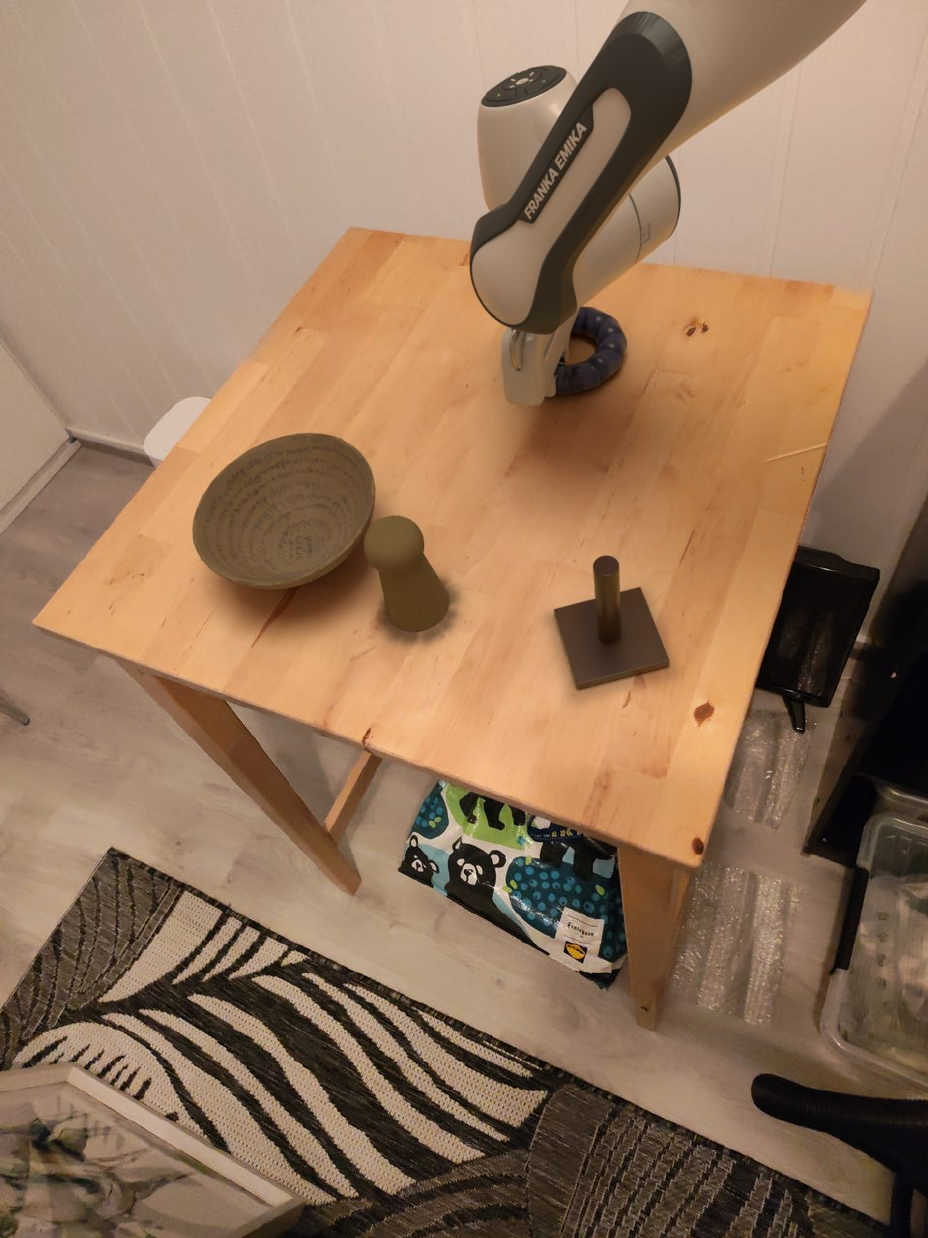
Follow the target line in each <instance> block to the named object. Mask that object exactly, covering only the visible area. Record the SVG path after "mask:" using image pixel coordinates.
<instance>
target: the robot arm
mask: <svg viewBox="0 0 928 1238" xmlns="http://www.w3.org/2000/svg"><path fill="white" fill-rule="evenodd" d="M867 1H868V0H628V2H627V3H626V5H625V7H624V8H623V10H622V12H621V13H620V15H619V17H618V19H617V20H616V22H615V24H614V25H613V27H612V29H611V31H610V33H609V35H608V36H607V38H606V39H605V40H604V42H603V43H602V46H601V47H600V49H599V50H598V52H597V54H596V55H595V57H594V59H593V60H592V62H591V64H590V65H589V67H588V68H587V70H586V71H585V73H584V74H583V76H582V77H581V79H580V81H579V82H578V83H577V81H576V79H575V77H574V76H573V75H572V73H571V72H570V71H569V70H568V69H566V68H564V67H561V66H557V65H553V64H552V65H551V64H545V65H538V66H532V67H529V68H527V69H525V70H521V71H519V72H515V73H513V74H511V75H510V76H507V77H506V78H504V79H503V80H502V81H500V82H498V83H497V84H496V85H494V86H492V87H491V88H490V89H489V90H488V91H487V92H486V93H485V94H484V96H483V97H482V98H481V100H480V103H479V106H478V110H477V118H476V142H477V157H478V166H479V173H480V181H481V187H482V194H483V199H484V203H485V204H486V207H487V209H488V212H487V213H485V214H483V215H481V217H479V218H478V220H477V221H476V222H475V224H474V228H473V231H472V236H471V240H470V241H471V242H470V248H469V276H470V282H471V286H472V289H473V291H474V293H475V296H476V297H477V299H478V301H479V303H480V305H481V306H482V307H483V309H484V311H486V313H487V314H488V315H489V316H490V317H491V318H492V319H494V320H495V321H496V322H497V323H499V324H501V325H502V326H504V327H505V328H504V331H503V333H502V338H501V343H500V365H501V375H502V376H501V377H502V386H503V392H504V397H505V399H506V401H507V402H508V403H510V404H512V405H515V406H516V405H517V406H524V407H540V406H541V405H542V404H543V403H544V400H545V397H550V398H553V397H555V395H556V394H555V393H556V391H557V388H558V376H557V375H554V372H555V370H556V367H557V365H558V366H567V365H568V362H569V360H570V353H569V347H570V340H571V339H570V338H571V334H570V332H571V330H572V327H573V325H574V322H575V320H576V317H577V315H578V312H579V310H580V307H581V306H584V305H586V304H587V303H588V302H589V301H591V300H592V299H593V298H595V297H596V296H597V295H598V294H600V293H601V292H602V291H604V290H605V289H607V288H608V287H609V286H611V285H612V284H613V283H614V282H615V281H617V280H618V279H620V278H621V277H622V276H623V275H625V274H626V273H627V272H629V271H630V270H631V269H632V268H634V267H635V266H636V265H637V264H639V263H640V262H642V261H644V260H645V258H647V257H648V256H649V255H650V254H652V253H653V252H655V250H657V249H658V248H659V247H660V246H661V245H662V244H663V243H664V242H666V241H667V240H668V239H670V237H671V236H672V235H673V234H674V232H675V230H676V228H677V226H678V223H679V219H680V215H681V208H682V193H681V192H682V191H681V184H680V180H679V176H678V171H677V169H676V166H675V164H674V161H673V160H672V158H671V156H670V154H671V153H672V152H674V151H675V150H677V149H678V148H679V147H681V145H683V144H685V143H686V142H687V141H689V140H690V139H692V137H694V136H696V135H698V134H699V133H700V132H702V131H703V130H704V129H706V128H707V127H709V126H710V125H711V124H713V123H715V122H716V121H719V119H720V118H722V117H723V116H725V115H727V114H728V113H730V112H731V111H733V110H734V109H736V108H737V107H739V106H741V105H742V104H744V103H745V102H746V101H748V100H749V99H751V98H753V97H754V96H756V95H757V94H758V93H760V92H761V91H763V90H765V89H766V88H767V87H769V86H771V85H772V84H773V83H775V82H776V81H778V80H779V79H781V78H782V77H783V76H784V75H786V74H787V73H789V72H790V71H791V70H793V69H794V68H795V67H797V66H798V65H800V63H801V62H803V61H804V60H806V59H807V58H808V57H809V56H810V55H811V54H812V53H814V52H815V51H816V50H817V49H819V47H821V46H822V45H823V44H824V43H825V42H827V41H828V39H830V38H831V37H832V36H833V35H834V34H835V33H836V32H837V31H839V29H841V28H842V27H843V26H844V24H846V23H847V22H848V21H849V20H850V19H851V18H852V17H853V16H854V15H855V14H856V13H857V12H858V11H859V10H860V9H861V8H862V7H863V6H864V4H865V3H866V2H867Z"/></svg>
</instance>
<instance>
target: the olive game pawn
mask: <svg viewBox="0 0 928 1238" xmlns="http://www.w3.org/2000/svg"><path fill="white" fill-rule="evenodd" d="M363 538H364V539H363V552H364V556H365V557H366V559H367V562H368V563H369V565H370V566H372V568H374V569H375V570H376V571H377V573H378V577H379V581H380V587H381V590H382V594H383V598H384V602H385V608H386V611H387V616H388V618H389V620H390V622H391V623H392V624H393V625H394V626H395V627H397V629H400V630H402V631H405V632H413V633H414V632H415V633H417V632H422V631H426V630H429V629H431V628H433V627H435V626H437V624H439V623H440V622H441V621H442V620H443V619H444V617H445V616H446V614H448V613H447V612H448V611H449V607H450V596H449V592H448V591H447V589H446V588H445V586H444V585H443V583H442V581H441V580H440V578H439V576H438V575H437V573H436V571H435V569H434V568H433V566H432V565H431V562H430V561H429V559H428V558H427V557H426V555H425V553H424V551H425V539H424V534H423V532H422V530H421V529H420V527H419V525H418V524H417V523H416V522H414V521H413V520H412V519H410V518H408V517H406V516H402V515H388V516H384V517H382V518H379V519H377V520H376V521H374V522H373V523H372V524H371V525H370V527H368V528H367V531H366V533H365V535H364V537H363Z"/></svg>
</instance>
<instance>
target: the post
mask: <svg viewBox="0 0 928 1238" xmlns="http://www.w3.org/2000/svg"><path fill="white" fill-rule="evenodd" d="M592 575H593V576H592V577H593V588H594V598H591V599H587V600H583V601H580V602H576V603H572V604H569V605H565V606H564V605H563V606H560V607H557V608H554V609H553V615H554V619H555V621H556V625H557V628H558V631H559V634H560V637H561V641H562V644H563V648H564V650H565V654H566V657H567V661H568V664H569V667H570V670H571V674H572V676H573V680H574V683H575V686H576V689H577V690H578V691H579V690H582V689H586V688H591V687H595V686H598V685H603V684H606V683H610V682H613V681H618V680H622V679H625V678H630V677H634V676H637V675H641V674H645V673H649V672H653V671H656V670H662V669H665V668H668V667H670V661H671V660H670V657H669V655H668V653H667V650H666V648H665V645H664V643H663V640H662V638H661V635H660V632H659V630H658V628H657V624H656V622H655V620H654V618H653V615H652V613H651V610H650V607H649V604H648V603H647V600H646V598H645V595H644V592H643V590H642V587H641V586H638V587H634V588H630V589H625V590H623V591H621V578H620V575H621V574H620V562H619V560H618V559H617V558H616V557H614V556H612V555H601V556H598V557H597V558H596V559H595V560H594V562H593V563H592Z"/></svg>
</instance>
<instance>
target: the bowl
mask: <svg viewBox="0 0 928 1238" xmlns="http://www.w3.org/2000/svg"><path fill="white" fill-rule="evenodd" d="M375 504H376V483H375V478H374V473H373V470H372V468H371V466H370V463H369V462H368V460H367V459H366V457H365V456H364V454H363V453H362V452H361V451H360V450H359V449H358V448H357V447H356V446H355V445H353V444H351V443H349V442H347V441H346V440H344V439H342V438H341V437H340V438H339V437H338V436H334V435H331V434H326V433H321V432H320V433H319V432H318V433H317V432H301V433H294V434H293V433H292V434H289V435H288V434H287V435H283V436H282V435H281V436H279V437H276V438H273V439H272V438H271V439H269V440H266V441H265V442H262V443H260V444H258V445H255V446H253V447H252V448H250V449H248V450H247V451H244V452H243V453H242V454H240V455H239V456H238V457H236V458H234V460H232V461H231V462H230V463H228V464H226V466H225V467H224V468H223V469H222V470H221V471H220V472H219V473H218V474H217V475H216V476H214V478H213V479H212V480H211V481H210V483H209V484H208V486H207V487H206V489H205V491H204V492H203V494H202V495H201V498H200V500H199V502H198V505H197V507H196V510H195V513H194V515H193V516H194V517H193V520H192V528H191V529H192V542H193V545H194V548H195V551H196V552H197V555H198V556H199V558H200V560H201V561H202V562H203V563H204V564H205V565H206V566H207V568H209V570H210V571H212V572H213V573H215V574H216V575H218V576H219V577H221V578H223V579H225V580H227V581H229V582H231V583H233V584H236V585H240V586H243V587H248V588H252V589H259V590H260V589H261V590H280V589H283V590H284V589H289V588H290V589H291V588H295V587H299V586H302V585H305V584H308V583H310V582H313V581H316V580H318V579H320V578H321V577H324V576H325V575H327V574H329V573H330V572H332V571H334V569H336V568H337V567H339V566H340V565H341V564H342V563H343V562H345V560H346V559H347V558H349V556H350V555H351V554H352V553H353V552H354V550H355V549H356V548H357V547H358V546H359V544H360V543H361V541H362V540H363V538H364V537H365V535H366V533H367V531H368V529H369V526H370V524H371V521H372V519H373V514H374V510H375Z"/></svg>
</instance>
